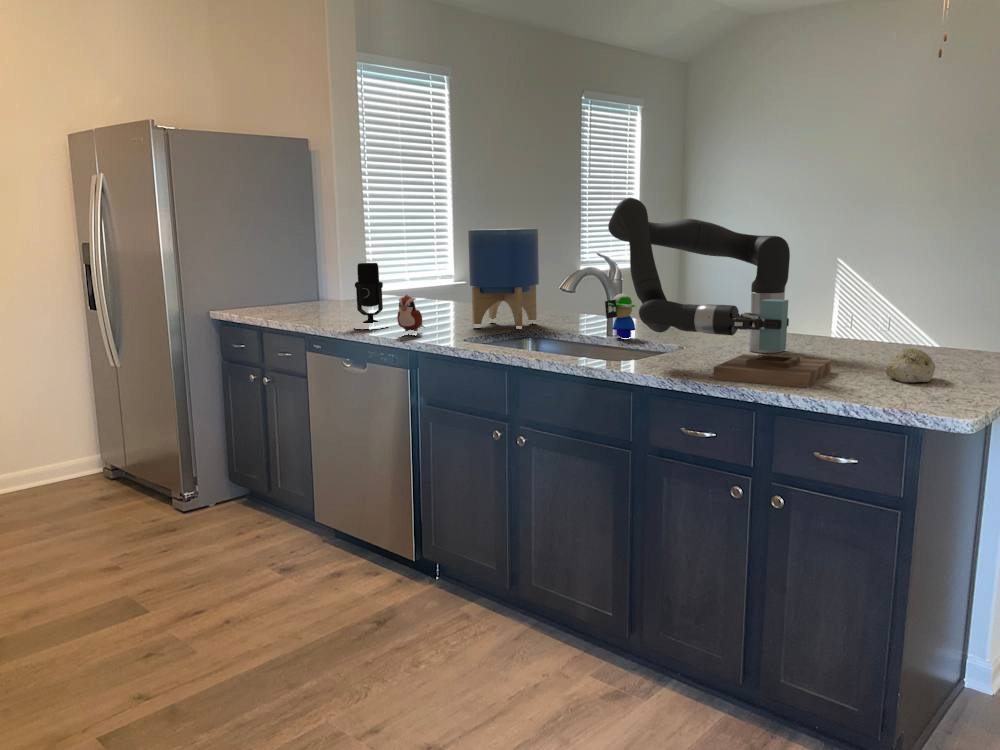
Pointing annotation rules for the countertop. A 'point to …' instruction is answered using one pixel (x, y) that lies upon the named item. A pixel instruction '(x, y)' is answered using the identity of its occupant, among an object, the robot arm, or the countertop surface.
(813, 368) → the plinth
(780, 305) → the pillar
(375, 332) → the countertop surface
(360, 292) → the microphone
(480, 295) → the planter
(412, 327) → the toy
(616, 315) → the toy
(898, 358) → the decorative item
